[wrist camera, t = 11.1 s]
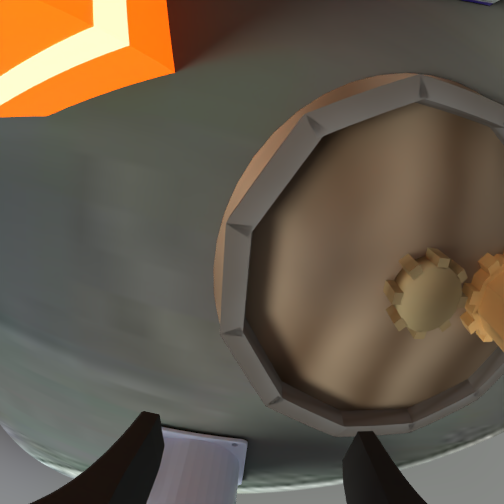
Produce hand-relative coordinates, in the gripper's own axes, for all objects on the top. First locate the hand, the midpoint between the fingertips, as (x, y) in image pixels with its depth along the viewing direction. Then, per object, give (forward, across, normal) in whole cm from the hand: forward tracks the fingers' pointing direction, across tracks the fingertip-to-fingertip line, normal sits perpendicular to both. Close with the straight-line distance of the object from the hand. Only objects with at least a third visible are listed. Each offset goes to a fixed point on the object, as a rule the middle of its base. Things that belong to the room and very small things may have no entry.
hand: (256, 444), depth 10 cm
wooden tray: (+9, -9, -3) cm, 13 cm away
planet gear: (+9, -15, -3) cm, 18 cm away
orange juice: (+10, +11, -16) cm, 22 cm away
